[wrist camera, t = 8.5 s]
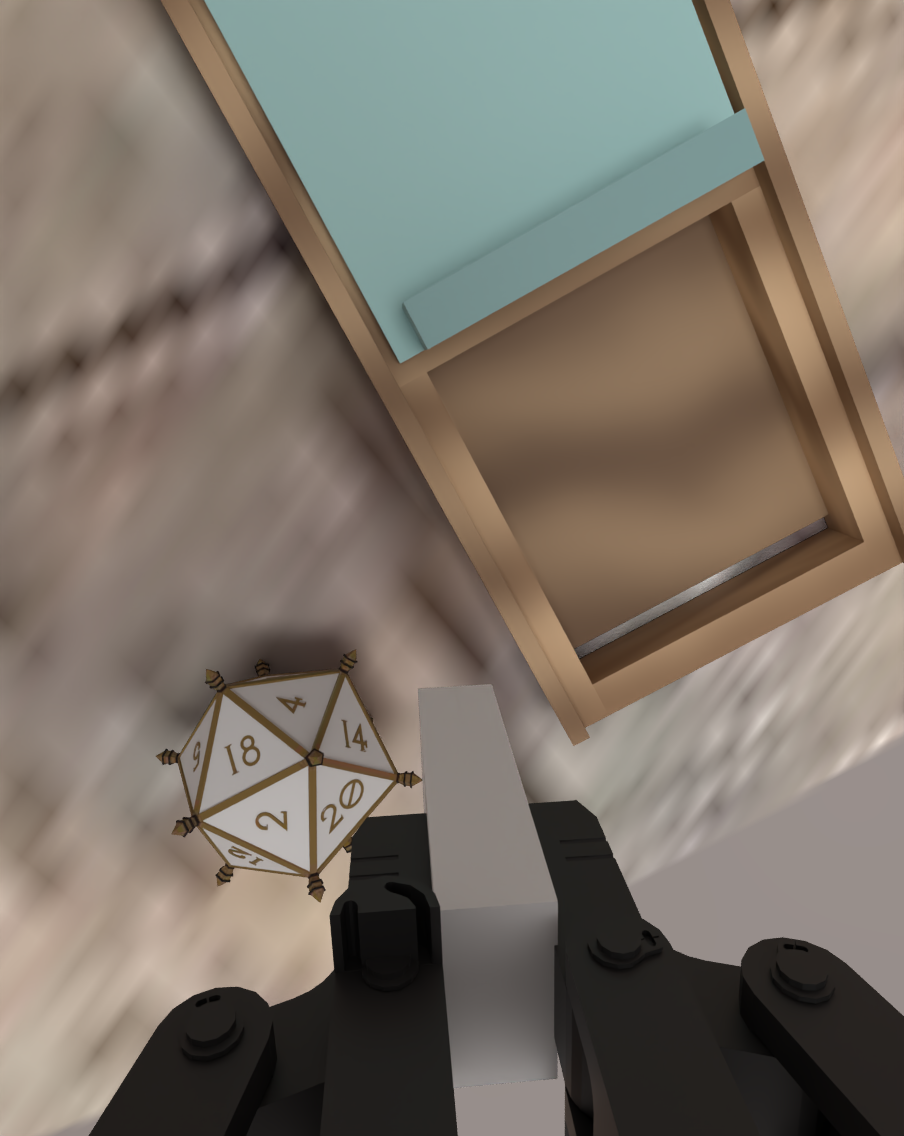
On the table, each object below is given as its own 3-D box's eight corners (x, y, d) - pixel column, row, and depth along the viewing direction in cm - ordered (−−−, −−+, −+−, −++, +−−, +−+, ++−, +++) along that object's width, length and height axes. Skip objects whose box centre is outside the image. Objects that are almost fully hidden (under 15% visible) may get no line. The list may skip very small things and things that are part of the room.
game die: (312, 641, 35) (378, 579, 26) (398, 812, 34) (496, 807, 26) (113, 735, 31) (113, 698, 22) (207, 933, 30) (244, 976, 21)
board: (135, -52, 25) (98, -113, 22) (554, -309, 24) (579, -411, 21) (555, 708, 33) (573, 745, 30) (879, 538, 32) (933, 558, 29)
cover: (161, -79, 22) (123, -151, 19) (554, -321, 22) (583, -437, 18) (399, 363, 26) (401, 364, 23) (742, 170, 25) (793, 143, 22)
